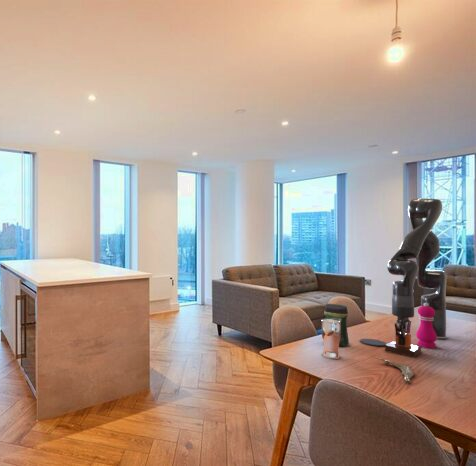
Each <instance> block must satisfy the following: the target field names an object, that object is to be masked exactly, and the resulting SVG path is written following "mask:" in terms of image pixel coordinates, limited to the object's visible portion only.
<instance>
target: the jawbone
mask: <svg viewBox="0 0 476 466" xmlns="http://www.w3.org/2000/svg"><path fill="white" fill-rule="evenodd" d="M376 358H377V359H378V360H380V361H384V362H385V363H384V364H385V365H392V366H394V367H396V368H398V369H399V370H400V371H401V375H404V377H403V379H404V380H405V382H406V383H409V384H410V383H411V380H410V379H411V378H412V377H414V374H415V373H414V372H413V370H412V369H411V368H410V365H408V364H404V363H400V362H393V361H390V360H388V359H387V358H386V359H384V358H380V357H376Z"/></svg>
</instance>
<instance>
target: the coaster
mask: <svg viewBox="0 0 476 466" xmlns="http://www.w3.org/2000/svg"><path fill="white" fill-rule="evenodd" d="M360 343H361V344H364V345H366V346H371V347H378V348H380V347H383V348H384V347H385V345H387V344H388V343H386V342H385V341H382V340H379V339H374V338H373V339H372V338H361V339H360Z"/></svg>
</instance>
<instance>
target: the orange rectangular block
mask: <svg viewBox="0 0 476 466" xmlns="http://www.w3.org/2000/svg"><path fill="white" fill-rule="evenodd" d="M395 341H396V345H398V346H402V345H399V344H398V335H396V331H395ZM411 345H412V334H410V333H409V334H406V333H405V345H404V346H403V347H407V348H411Z"/></svg>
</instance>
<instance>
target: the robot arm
mask: <svg viewBox="0 0 476 466" xmlns="http://www.w3.org/2000/svg"><path fill="white" fill-rule="evenodd" d="M407 211H408V212H407V213H408V216H409V217H408V218H409V220H410V225H411V229H412V230H411V231H410V232H408V233H407V234H406V235H405V236H404V237H403V239H402V242H401V244H400V246H399V249H398V250H397V251H396V252H395V254H394V255H393V256H392V257H391V258H390V259H389V261H388V263H387V268H386V269H387V271H388V273H389V274H391V275H393V276H401V277H402V276H403V279H402V280H395V281H393V282H392V297H391V315H393V316H395V317H397V319H395V323H394V330H395V332H396V335H398V344H399V345H402V346H404V345H405V333H406V334H410V333H411V325H412V320H411V319H410V318H415V299H414V286H415V282H416V281H417V282H416V283H417V285H418V287H420V288H422V289H429V290H436V291H435V292H433V293H428V294H422V295H421V297H420V307H421V306H424V303H428V304H429V307H432V308H433V309H434V310H435V315H434V316H433V318H434V319H433V320H434V321H432V326H433V329H434V331H435V333H436V335H437V340H446V339H447V297H446V293H447V291H446V290H447V273H446V272H445V271H443V270H431V269H428V270H427V267H428V266H429V265H430V263H432V262H433V261H434V260H435V259H436V258H437V257H438V255H439V254H440V253H441V246H440V245H441V244H440V240H439V237H438V236H437V234H435V233H434V231H432V230H433V228H434V227H435V225H436V223H437V221H438V220H439V218H440V217H441V215H442V211H443V202H442V200H440V199H439V198H412V199H411V200H409V202H408V208H407ZM414 259H415V260H416V261H415V260H414Z"/></svg>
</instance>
